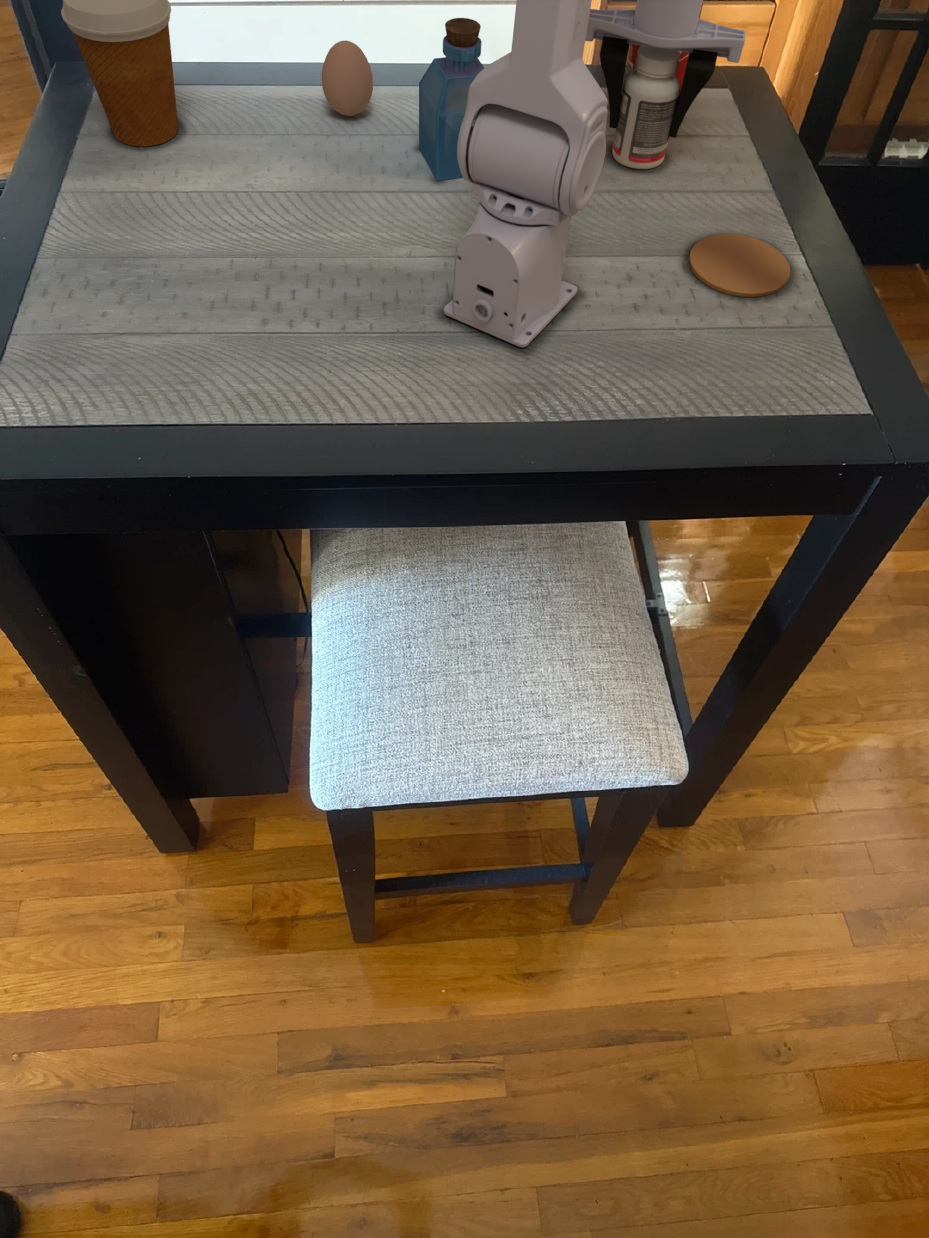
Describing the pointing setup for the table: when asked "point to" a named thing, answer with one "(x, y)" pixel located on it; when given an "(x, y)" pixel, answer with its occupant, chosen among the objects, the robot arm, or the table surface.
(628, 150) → the pill bottle
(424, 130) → the perfume bottle
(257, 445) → the table surface
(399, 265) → the table surface
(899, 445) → the table surface
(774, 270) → the cork coaster
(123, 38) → the disposable coffee cup
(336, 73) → the egg
